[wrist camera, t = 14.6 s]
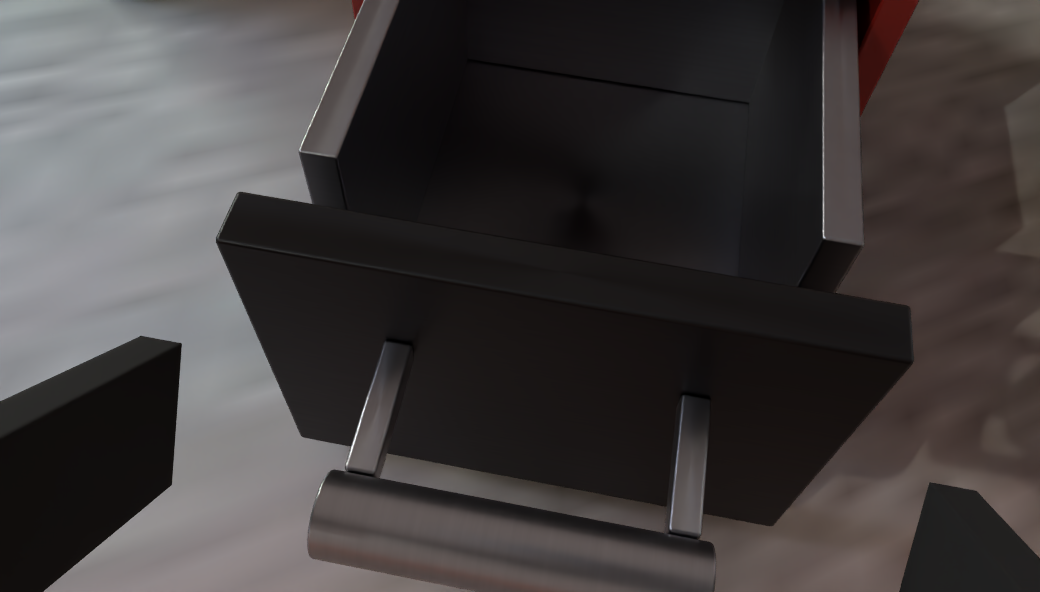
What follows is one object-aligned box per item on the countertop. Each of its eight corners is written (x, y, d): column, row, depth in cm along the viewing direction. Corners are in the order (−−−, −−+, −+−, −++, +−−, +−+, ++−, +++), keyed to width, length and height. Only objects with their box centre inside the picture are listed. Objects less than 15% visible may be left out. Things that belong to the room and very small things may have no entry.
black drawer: (767, 716, 20) (933, 631, 12) (241, 607, 21) (105, 468, 13) (785, 117, 30) (884, -126, 23) (431, 62, 31) (414, -189, 23)
